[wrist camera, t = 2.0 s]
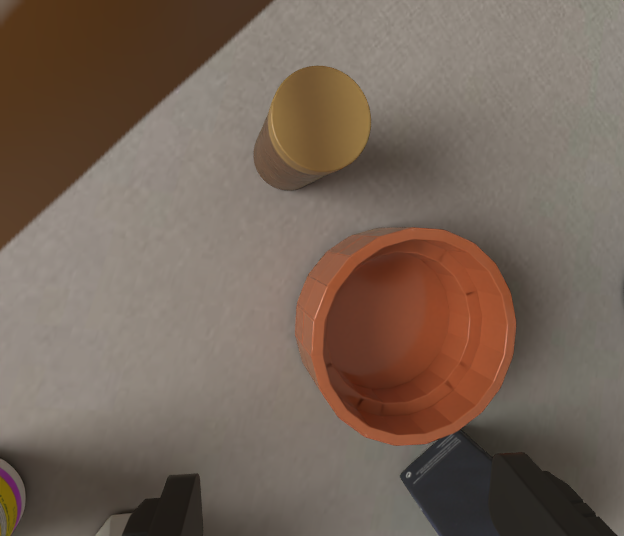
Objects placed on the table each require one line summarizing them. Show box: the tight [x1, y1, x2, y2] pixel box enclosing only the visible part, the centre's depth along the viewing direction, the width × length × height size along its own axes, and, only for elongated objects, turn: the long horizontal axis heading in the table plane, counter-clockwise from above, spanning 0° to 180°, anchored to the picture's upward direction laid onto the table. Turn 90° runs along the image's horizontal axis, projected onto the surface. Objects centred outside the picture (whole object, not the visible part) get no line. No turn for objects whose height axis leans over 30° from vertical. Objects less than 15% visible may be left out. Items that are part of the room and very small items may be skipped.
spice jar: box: [254, 66, 371, 190], centre depth 24 cm, size 5×5×10 cm
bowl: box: [295, 227, 516, 446], centre depth 28 cm, size 13×13×6 cm
